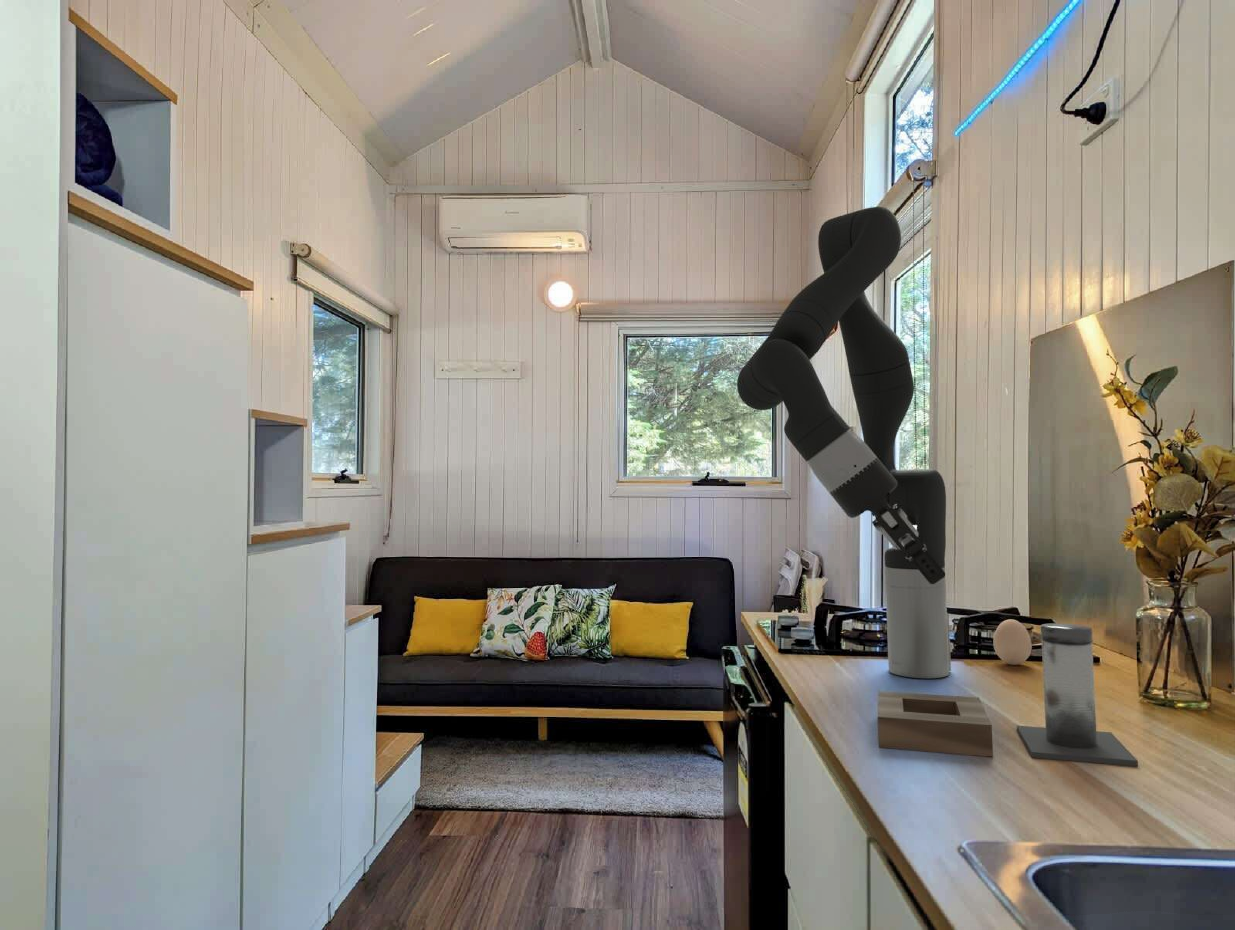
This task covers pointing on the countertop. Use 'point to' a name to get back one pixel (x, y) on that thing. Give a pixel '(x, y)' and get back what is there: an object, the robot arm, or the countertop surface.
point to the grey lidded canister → (1069, 685)
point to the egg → (1012, 642)
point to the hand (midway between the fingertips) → (934, 574)
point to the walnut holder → (934, 723)
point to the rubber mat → (1104, 752)
